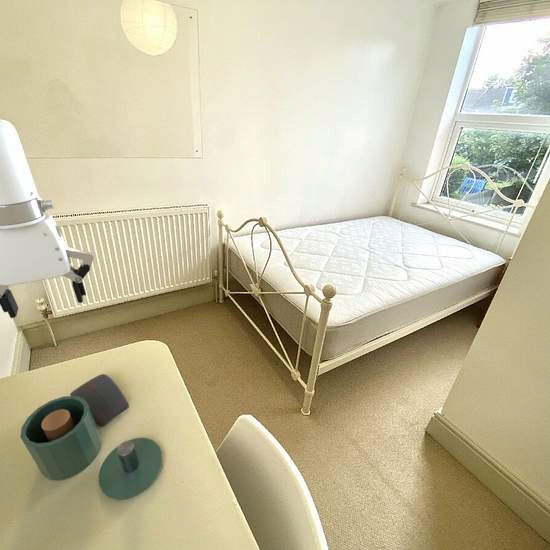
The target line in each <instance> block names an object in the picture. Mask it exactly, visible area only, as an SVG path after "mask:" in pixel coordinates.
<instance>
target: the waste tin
mask: <svg viewBox="0 0 550 550" xmlns="http://www.w3.org/2000/svg"><path fill="white" fill-rule="evenodd" d="M60 409H65V410H67V411H69V413H70V415H71V418H72V420H73V422H74V424H75V428H74V429H73V430H72V431H70V432H69V433H67V434H66V435H64V436H63V437H61V438H59V439H56V440H54V441H51V442H49V440H48V438H47V436H46V435H45V433H44V431H43V429H42V427H41V424H42V421H43V420H44V418H45V417H46V416H47V415H49V414H50V413H52V412H54V411H56V410H60ZM20 440H21V441H22V443H23V444H24V446H25V448H26V450H27V451H28V452H29V454H30V456H31V457H32V459H33V461H34V462H35V464H36V466H37V467H38V469H39V471H40V473H41V474H42V476H43V477H44V478H46V479H47V480H50V481H64V480H67V479H70V478H72V477H75V476H76V475H78V474H80V473H82V472H83V471H84V470H86V469H87V468H88V467H89V466H90V465H91V464H92V463H93V462H94V460H95V459H96V458H97V456H98V455H99V452H100V450H101V447H102V440H101V434H100V431H99V429H98V427H97V424H96V421H95V420H94V419H93V416H92V414H91V411H90V409H89V406H88V404H87V403H86V401H85V400H84V399H83V398H80V397H77V396H71V395H65V396H61V397H57V398H55V399H52V400H50V401H47V402H46V403H44V404H43V405H40V406H39V407H37V408H36V409H35V410H34V411H33V412H32V413H31V414H30V415H29V416H28V417H27V418H26V419H25V422H24V423H23V425H22V426H21V430H20Z"/></svg>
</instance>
